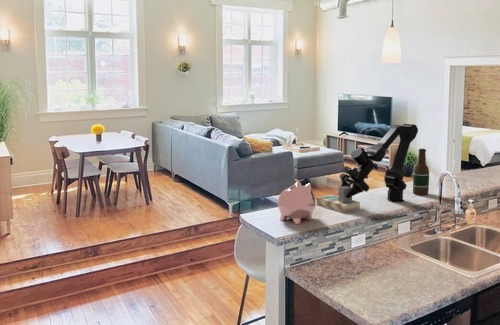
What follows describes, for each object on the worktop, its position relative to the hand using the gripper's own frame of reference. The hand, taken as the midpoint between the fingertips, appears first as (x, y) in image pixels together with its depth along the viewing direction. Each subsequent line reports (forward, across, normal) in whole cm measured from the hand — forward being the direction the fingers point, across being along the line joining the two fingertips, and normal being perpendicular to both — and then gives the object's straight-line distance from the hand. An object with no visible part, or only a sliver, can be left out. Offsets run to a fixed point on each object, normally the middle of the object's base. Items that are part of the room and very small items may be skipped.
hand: (342, 195), depth 224 cm
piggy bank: (+23, +6, -14) cm, 28 cm away
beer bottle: (-32, -10, +42) cm, 54 cm away
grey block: (+1, 0, +3) cm, 3 cm away
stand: (+5, -5, +5) cm, 8 cm away
